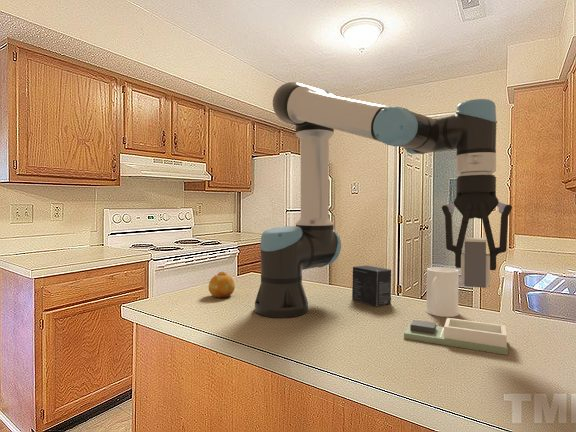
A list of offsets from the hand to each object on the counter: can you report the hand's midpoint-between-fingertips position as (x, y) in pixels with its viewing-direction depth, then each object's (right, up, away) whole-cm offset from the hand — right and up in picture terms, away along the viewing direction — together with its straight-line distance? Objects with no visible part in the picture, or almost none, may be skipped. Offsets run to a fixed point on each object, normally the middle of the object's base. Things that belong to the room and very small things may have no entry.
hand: (475, 284), depth 80 cm
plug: (0, 0, 0) cm, 0 cm away
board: (-3, -13, +2) cm, 13 cm away
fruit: (-62, -12, +42) cm, 76 cm away
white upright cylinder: (+1, -12, +22) cm, 25 cm away
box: (-15, -12, +35) cm, 40 cm away
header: (0, -12, +1) cm, 12 cm away
